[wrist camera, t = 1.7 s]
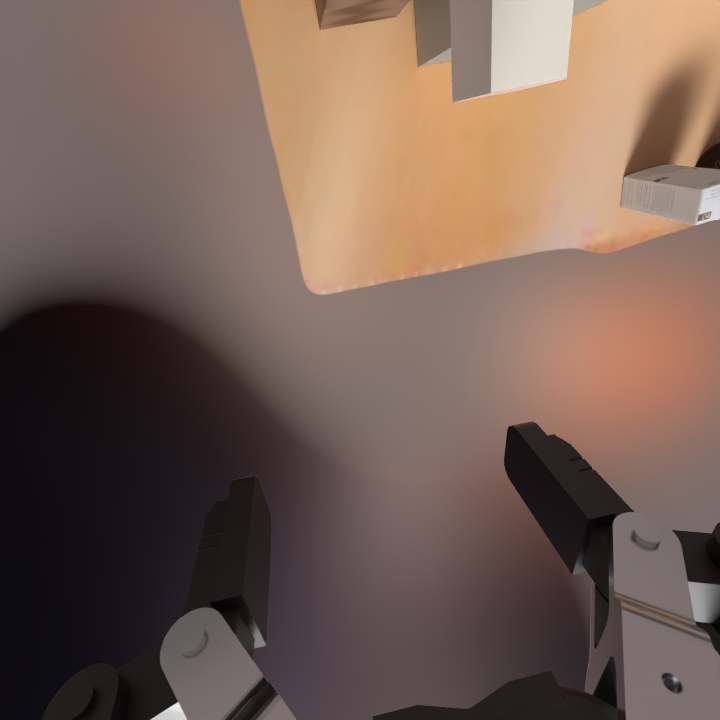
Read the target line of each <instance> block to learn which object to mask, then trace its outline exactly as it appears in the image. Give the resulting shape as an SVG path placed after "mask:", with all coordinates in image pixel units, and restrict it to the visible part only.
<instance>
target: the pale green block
mask: <svg viewBox="0 0 720 720" xmlns="http://www.w3.org/2000/svg"><path fill="white" fill-rule="evenodd" d="M605 1H608V0H574V4H573V14H572V16H575V15H577V14H579V13H581V12H583V11H586V10H588V9H590V8H592V7H594V6H597V5H599V4H601V3H603V2H605ZM414 9H415V24H416V40H417V55H418V67H423V66H429V65H435V64H440V63H446V62H451V26H450V0H414Z"/></svg>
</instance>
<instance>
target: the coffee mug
mask: <svg viewBox="0 0 720 720" xmlns="http://www.w3.org/2000/svg"><path fill="white" fill-rule="evenodd" d="M696 167H699V168H710V169H720V143H719V144H717V145H715V146H713V147H711V148H710V149H709V150H707V151H706V152H705V153H704V154H703V156H702V157H701V158H700V160H699V161H698V163H697V164H696Z"/></svg>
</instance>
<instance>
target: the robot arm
mask: <svg viewBox="0 0 720 720" xmlns="http://www.w3.org/2000/svg"><path fill="white" fill-rule="evenodd" d="M504 466H505V470H506V473H507V476H508V478H509V479H510V481H511V483H512V484H513V486H514V487H515V489H516V490H517V492H518V493H519V495H520V496H521V498H522V499H523V501H524V502H525V504H526V505H527V507H528V508H529V510H530V511H531V513H532V514H533V516H534V517H535V519H536V521H537V522H538V523H539V525H540V527H541V528H542V529H543V531H544V533H545V534H546V536H547V537H548V538H549V540H550V542H551V543H552V545H553V546H554V548H555V549H556V551H557V552H558V554H559V555H560V557H561V558H562V560H563V561H564V563H565V564H566V566H567V568H568V569H569V570H570V572H571V573H572V575H574V574H578V573H582V572H588V574H589V575H590V577H591V578H592V580H593V583H592V590H591V634H590V659H589V666H588V671H587V678H586V686H585V692H584V691H581V690H579V689H576V688H572V687H568V686H563V685H558V684H557V682H556V680H555V678H554V676H553V674H552V672H551V671H549V672H545V673H541V674H537V675H533V676H529V677H526V678H522V679H517V680H514V681H510V682H508V683H506V684H505V685H503V686H502V687H500V688H499V689H497V690H496V691H495V692H493V693H492V694H490V695H489V696H488V697H486V698H485V699H483V700H482V701H480V702H479V703H477V704H476V705H474V706H473V707H471V708H469V709H458V708H446V707H433V706H423V705H416V706H412V707H409V708H405V709H401V710H397V711H393V712H389V713H385V714H381V715H377V716H374V717H373V720H720V678H719V673H718V668H717V664H716V659H715V654H714V649H713V647H714V648H715V650H716V651H717V652H718V653H719V655H720V523H718V524H717V525H716V527H715V528H714V530H713V532H712V534H710V533H699V532H688V531H676V530H671V529H670V528H669V527H667V526H666V525H665V524H664V523H662V522H661V521H659V520H657V519H655V518H653V517H651V516H648V515H645V514H641V513H635V512H634V511H633V510H632V509H631V508H630V507H629V506H628V505H627V504H626V503H625V502H624V501H623V500H622V499H621V497H620V496H619V495H618V494H617V493H616V492H615V491H614V490H613V489H612V488H611V487H610V486H609V485H608V484H607V483H606V482H605V481H604V479H603V478H601V476H600V475H599V474H598V473H597V472H596V471H595V470H593V469H592V467H591V466H590V465H589V464H588V463H587V461H586V460H585V459H582V457H581V455H580V454H579V453H578V452H577V451H576V450H575V449H574V448H573V447H572V446H571V444H569V443H567V442H566V441H564V440H562V439H561V438H559V437H557V436H556V435H554V434H553V435H548V436H547V435H546V434H545V432H544V431H543V430H542V429H541V428H540V427H539V426H538V425H537V424H536V423H535V422H528V423H523V424H518V425H512V426H509V427H508V430H507V439H506V447H505V456H504ZM271 533H272V521H271V513H270V509H269V506H268V503H267V500H266V497H265V494H264V491H263V488H262V485H261V482H260V480H259V477H258V476H257V475H256V476H251V477H246V478H241V479H236V480H232V481H231V484H230V489H229V495H228V499H227V500H222V501H217V502H215V504H214V505H213V507H212V508H211V510H210V511H209V513H208V515H207V516H206V518H205V522H204V526H203V531H202V538H201V539H200V543H199V548H198V553H197V557H196V561H195V565H194V570H193V574H192V579H191V583H190V587H189V592H188V596H187V601H186V605H185V609H184V612H183V614H182V617H181V618H180V619H179V620H178V621H177V622H176V623H175V624H174V625H173V626H172V628H171V629H170V630H169V632H168V633H167V635H166V637H165V639H164V641H163V642H162V643H160V644H159V645H158V646H157V647H155V648H154V649H152V650H150V651H149V652H147V653H145V654H143V655H142V656H140V657H138V658H136V659H135V660H133V661H131V662H129V663H128V664H126V665H124V666H123V667H121V668H119V669H117V670H115V669H114V668H113V667H112V666H110V665H108V664H95V665H92V666H89V667H87V668H85V669H83V670H81V671H80V672H78V673H77V674H75V675H74V676H73V677H72V678H70V679H69V680H68V681H67V682H66V683H65V684H64V685H63V686H62V687H61V689H59V691H58V692H57V693H56V695H55V696H54V697H53V699H52V700H51V702H50V704H49V705H48V707H47V709H46V711H45V713H44V715H43V718H42V720H296V718H295V717H294V716H293V714H292V713H291V711H290V710H289V708H288V707H287V706H286V704H285V703H284V701H283V700H282V698H281V697H280V696H279V694H278V693H277V692H276V690H275V689H274V687H273V686H272V685H271V684H270V683H269V682H267V680H266V679H265V677H264V676H263V674H262V673H261V672H260V670H259V669H258V667H257V666H256V664H255V663H254V662H253V654H254V648H257V647H262V646H266V639H267V618H268V597H269V576H270V555H271V535H272V534H271Z"/></svg>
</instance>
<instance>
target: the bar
mask: <svg viewBox="0 0 720 720" xmlns="http://www.w3.org/2000/svg"><path fill="white" fill-rule="evenodd" d="M573 4H574V0H450V26H451V61H452V96H453V103H454V102H460V101H465V100H470V99H476V98H481V97H487V96H492V95H498V94H503V93H508V92H514V91H518V90H522V89H526V88H531V87H535V86H539V85H543V84H547V83H552V82H556V81H560V80H564V79H566V77H567V67H568V56H569V46H570V35H571V25H572V14H573Z"/></svg>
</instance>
